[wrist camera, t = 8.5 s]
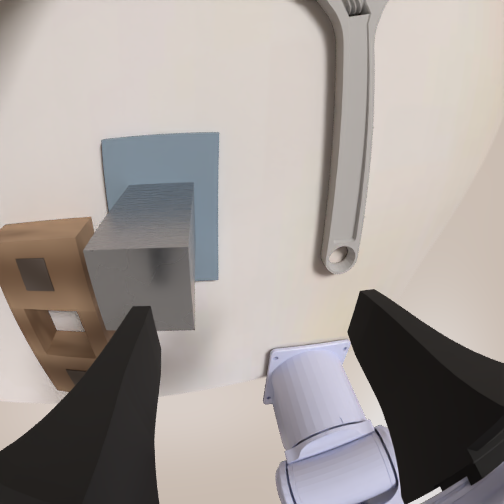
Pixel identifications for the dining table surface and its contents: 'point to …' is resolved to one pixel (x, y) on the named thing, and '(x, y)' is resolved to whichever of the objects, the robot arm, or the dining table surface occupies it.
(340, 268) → the adjustable wrench
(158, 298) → the steel peg
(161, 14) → the dining table surface
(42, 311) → the brown flat rectangular block
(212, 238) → the slate mat
